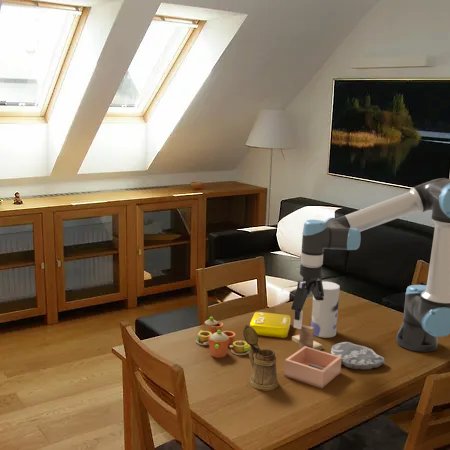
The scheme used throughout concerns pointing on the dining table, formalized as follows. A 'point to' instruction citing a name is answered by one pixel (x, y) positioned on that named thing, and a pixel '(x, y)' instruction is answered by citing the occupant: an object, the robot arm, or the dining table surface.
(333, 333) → the container
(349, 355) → the brain slice
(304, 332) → the tall beige block
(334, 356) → the pink open box
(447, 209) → the robot arm
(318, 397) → the dining table surface
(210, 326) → the toy tea set
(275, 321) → the element tile
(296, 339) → the beige wooden plank
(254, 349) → the wooden mug
